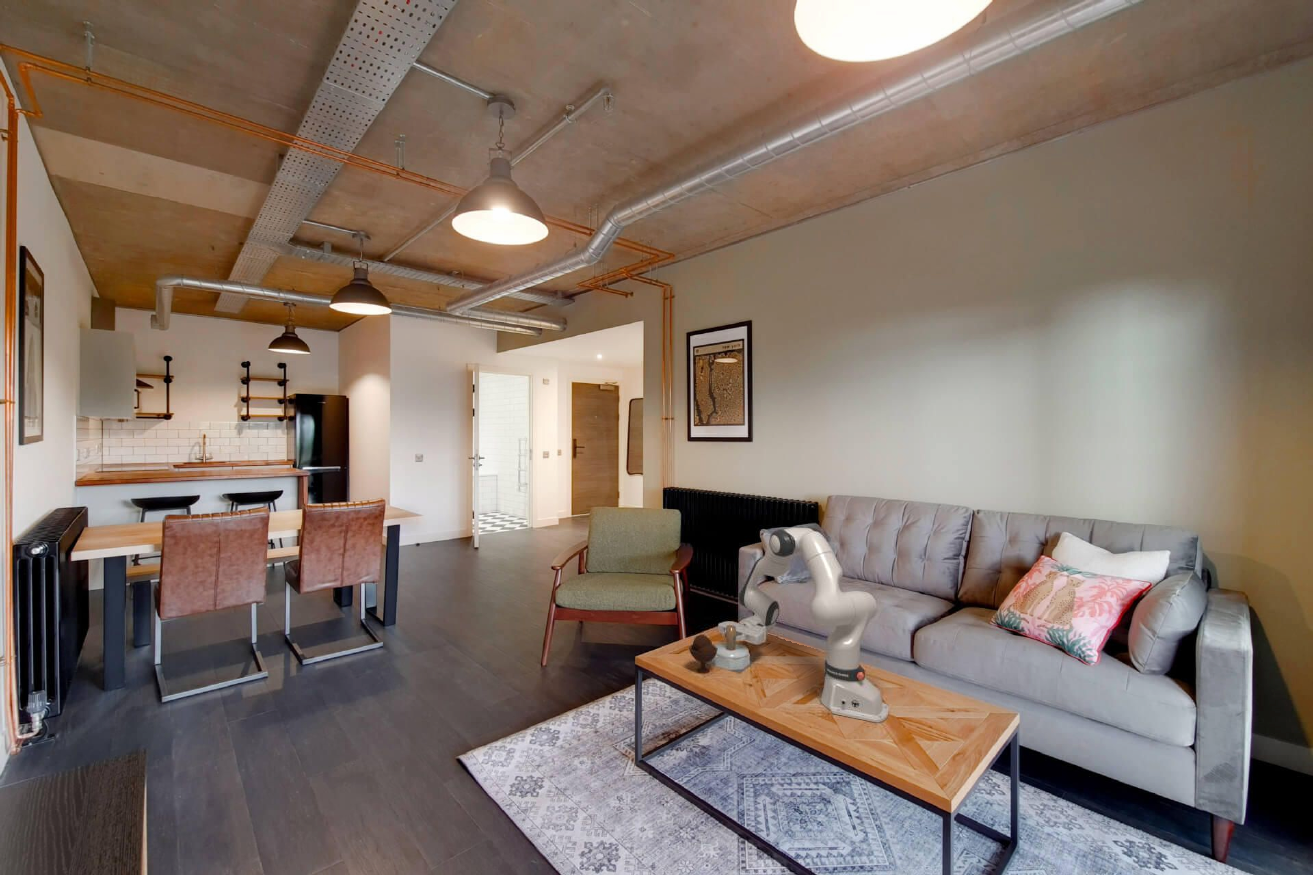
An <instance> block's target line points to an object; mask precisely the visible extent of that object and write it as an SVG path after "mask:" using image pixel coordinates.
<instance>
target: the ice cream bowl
mask: <svg viewBox="0 0 1313 875" xmlns="http://www.w3.org/2000/svg"><path fill="white" fill-rule="evenodd" d="M714 645H715V644H713V643H712V640H711V639H710V638H709V637H708V636H706V635H705V634H699V635H696V636H695V637H694V640H693V641H692V644H691V645H690V646H689V653H690V655H691V657H692V658H693V659H695V661H697V662H699V663H700V667H699V668H697V669H696V671H695V672H697V673H698V674H700V675H706V674H709V673H710V672H711V671H710V670H709V669H708V668H706V665H707V664H706V662H709V661H711V660H712V659H713V658H714V657H715V655H716V653H717V650H718V649H717V648H716V647H715V646H714Z"/></svg>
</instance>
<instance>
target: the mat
mask: <svg viewBox="0 0 1313 875" xmlns="http://www.w3.org/2000/svg"><path fill="white" fill-rule="evenodd" d="M755 662H756V660H755V659H751V658H750V664H749V665H748V666H747V667H746V668H744V669H739V670H727V669H723V668H721V669H722V670H726V671H729V672H732V673H733V672H734V673H737V674H742V673H743V672H745V670H746V669H748V668H749V667H750V666H751V665H753V664H755ZM705 665H708V666H711V667H715V668H719V667H716V666H715V665H714V664H713V662H712V661H709V662H706V664H705ZM719 669H720V668H719Z"/></svg>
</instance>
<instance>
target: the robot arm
mask: <svg viewBox="0 0 1313 875" xmlns="http://www.w3.org/2000/svg"><path fill="white" fill-rule="evenodd" d="M794 557H802V558H803V562H804V563H805V565H806V567H807V569H808V573H809V574H810V576H811V579H812V582H813V584H814V590H815V593H814V598H813V600H812V602H811V604H810V615H811V617H812V620H813V621H814V622H815V623H816V625H818V626H821V627H827V628H835V629H834V630H833V632H831V633H830V635H828V637H827V639H826V652H825V653H826V654H825V656H826V658H825V660H824V670H823V672H824V673H823V674H824V684H823V689H822V693H821V696H820V699H819V700H820V703H821V704H822V705H823V706H824V707H826V708H827V709H828V710H829V712H830V713H831V714H834V715H839V716H843V717H848V718H853V719H858V720H862V721H867V722H872V723H878V724H879V723H881V722H883V721H885V720H886V719H887V718H888V716H889V715H890V708H889V706H888V704H887V703H885V702H883V698H882V694H881V691H880V690H879V689H878V688H877V687H876V686H875V685H874V684H873V683H872V682H871V681H869V679H868V678H866V667H862V665H860V658H861V656H860V654H861V643H862V640H863V636H864V633H865V631H866V629H867V628H868V626H869V623H871V621H872V620H873V619H874V617H875V616H876V615H877V611H878V605H877V601H876V599H875V598H874V596H873V595H872V594H871V593H869V592H867V591H863V590H862V591H860V590H851V591H842V590H841V588H840V585H839V584H840V582H841V580H842V578H843V575H844V572H843V569H842V567H841V564H840V563H839V561H838V559H837V556H836V555H835V552H834V550H833V549H832V547H831V546H830V544H829V542H828V541H827V539H826V538H825V537H824V536H823V534H822V532H821V530H819V528H816V527H811V526H810V527H809V526H807V527H790V528H782V529H777V530H775V531H773V532H772V533H771V534H770V536H769V541H768V544H767V547H766V549H765V553H764V556H762V557H759V558H758V559H757V560H756V561H755V562H754V564H753V566H752V568H751V570H750V572H749V574H748V576H747V578H746V581H745V584H744V585H743V587H741V590H740V592H738V600H739V604H740V606H742V607H744V608H746V609H748V610H750V611H751V612H752V613H753V615H751V616H748V617H746V618H743V619H742V620H740V621H739V622H734V621H728V620H727V621H722V622H719V623H718V625H717V632H718V633H719V634H722V636H721V637H723V638H725V639H726V626H728V625H733V626H735V627H736V636H734V641H736V642H740V641H741V642H743V641H744V642H747V643H750V644H752V645H760V644H763V643H765V642H766V641H767V633H769V632H770V631H772V630H773V629H774V627H775V626H776V623H777V620H778V618H779V616H780V606H779V605H780V604H779V602H778V601H777V600H775V599H774V597H772V596H770V595H768V594H767V593H765V592H763V591H762V590H760V588H759V586H758V585H759V584H758V583H759V582H760V580H761V578H762V576H768V577H769V576H770V577H773V578H774V577H781V576H783V575H786V573H788V572H789V570H790V568H791V565H792V561H793V558H794Z"/></svg>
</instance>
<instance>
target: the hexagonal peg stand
mask: <svg viewBox="0 0 1313 875" xmlns="http://www.w3.org/2000/svg"><path fill="white" fill-rule="evenodd" d="M734 636H736V627H735V626H733V625H728V626H726V638H725V641H724V642H718V643H716V644H713V645H714V646H715V647H716V648H717V649H718V650H717V653H716V655H715V657H714V658H713V659H712V660H711V661H712V662H713V664H714V665H715V666H716V667H715V666H714V667H715V668H718V667H719V669H722V668H723V669H722V670H725V669H727V670H726V671H729V670H739V669H744V668H746V667H747V666H748V665H749V664H750V659H751V654H750V653H749V650H750V649H749V648H748V647H747V646H746V645H743V644H742V643H739V642H737V641H734Z"/></svg>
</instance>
